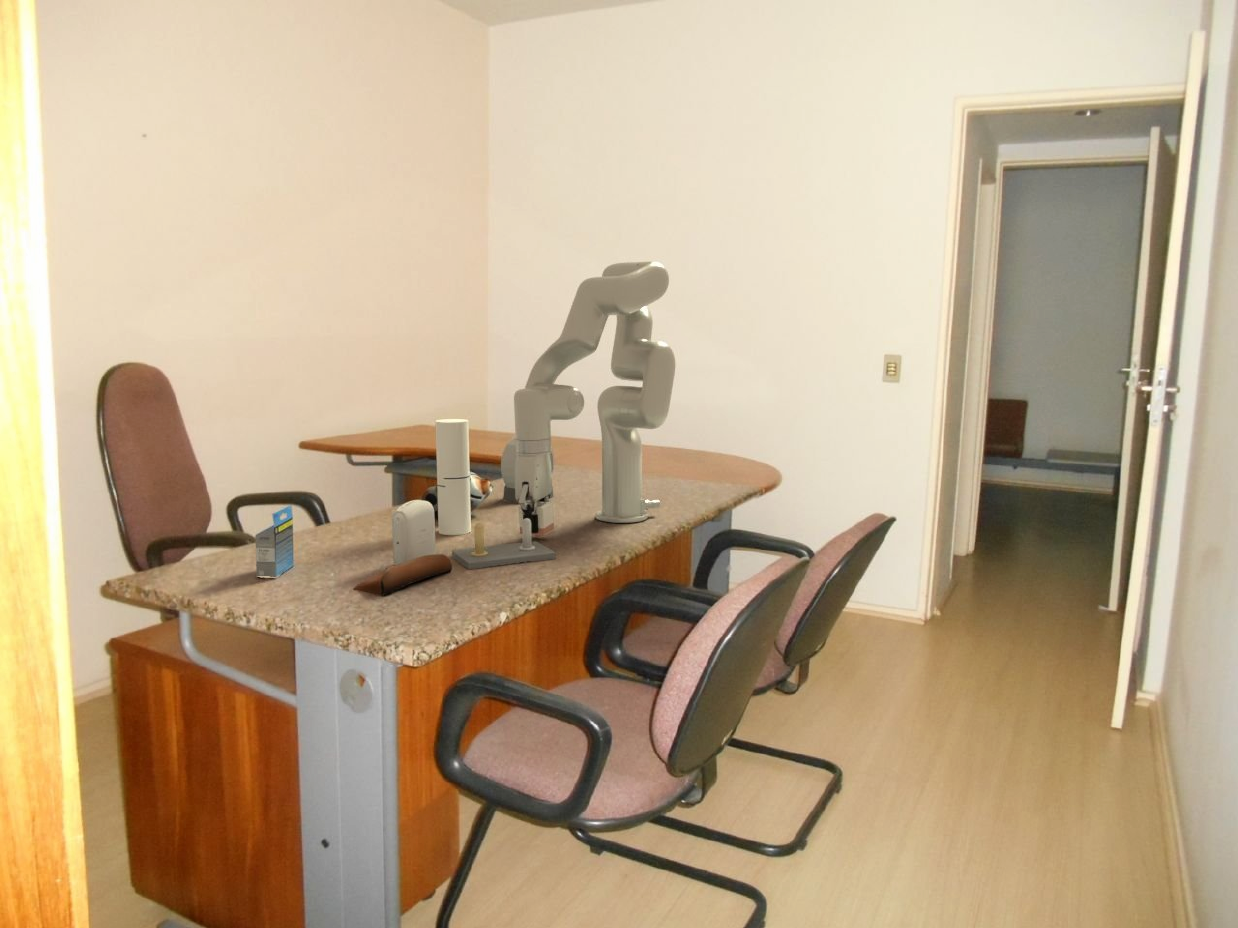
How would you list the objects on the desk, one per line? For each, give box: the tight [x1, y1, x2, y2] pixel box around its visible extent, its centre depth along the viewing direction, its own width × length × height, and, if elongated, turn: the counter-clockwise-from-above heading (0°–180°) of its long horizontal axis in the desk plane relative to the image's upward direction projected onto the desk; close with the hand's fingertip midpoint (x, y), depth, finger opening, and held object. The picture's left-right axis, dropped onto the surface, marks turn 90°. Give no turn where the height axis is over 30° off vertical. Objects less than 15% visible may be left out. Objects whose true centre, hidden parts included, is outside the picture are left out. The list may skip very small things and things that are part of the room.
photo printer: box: [391, 499, 437, 566], centre depth 179 cm, size 10×4×12 cm, turn 158°
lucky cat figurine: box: [420, 471, 494, 517], centre depth 223 cm, size 15×12×14 cm
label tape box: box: [254, 504, 295, 577], centre depth 173 cm, size 9×4×12 cm, turn 178°
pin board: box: [451, 518, 557, 570], centre depth 184 cm, size 18×11×8 cm, turn 117°
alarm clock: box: [500, 435, 555, 503], centre depth 244 cm, size 16×10×18 cm, turn 144°
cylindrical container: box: [435, 418, 472, 536], centre depth 205 cm, size 7×7×25 cm
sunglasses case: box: [353, 554, 453, 597], centre depth 168 cm, size 18×7×7 cm, turn 151°
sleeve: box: [518, 501, 555, 536], centre depth 200 cm, size 6×6×6 cm
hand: (536, 527), depth 200 cm, fingers closed on sleeve, 5 cm apart
